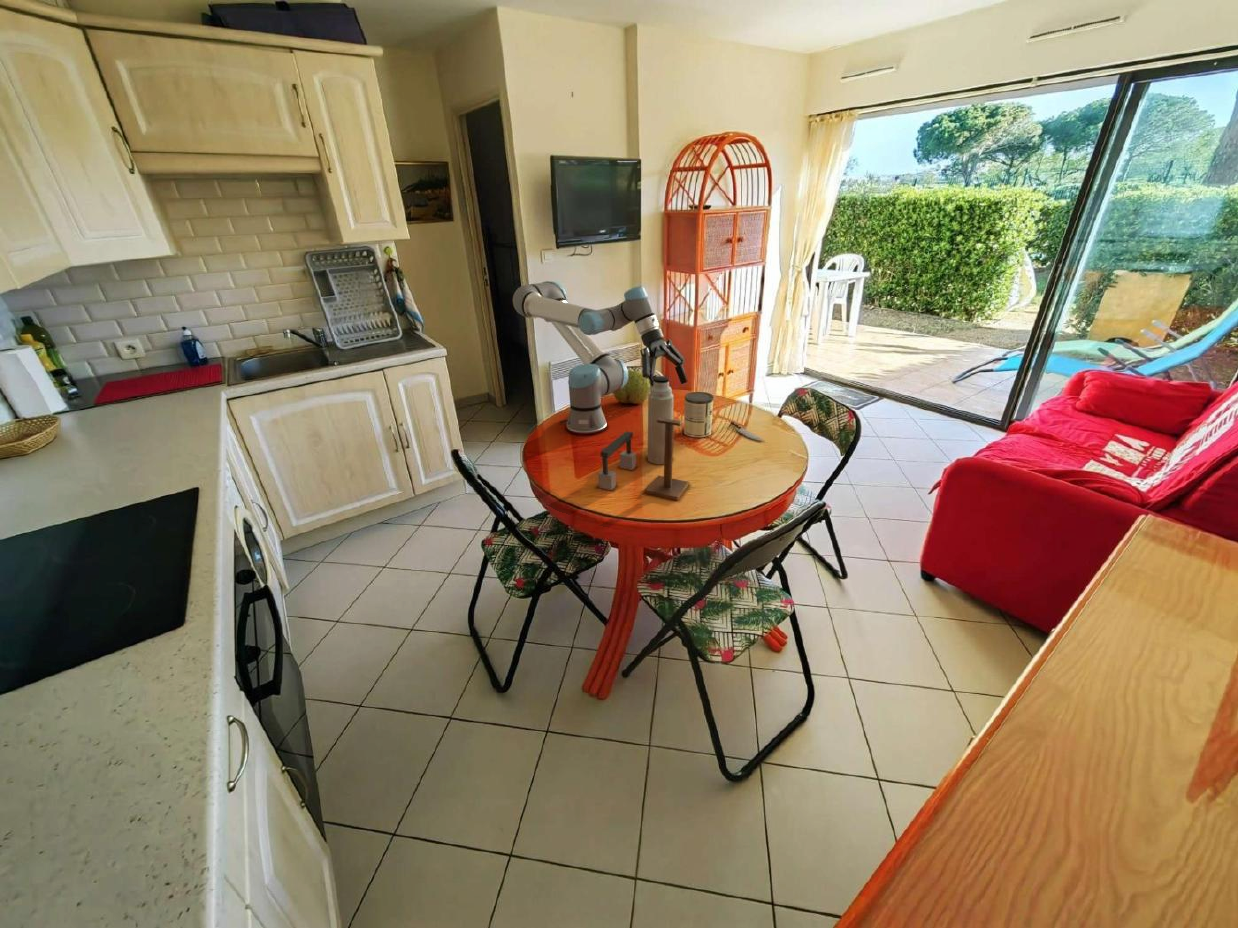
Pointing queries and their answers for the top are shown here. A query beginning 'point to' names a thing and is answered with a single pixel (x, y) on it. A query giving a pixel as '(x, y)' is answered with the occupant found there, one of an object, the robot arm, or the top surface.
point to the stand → (668, 468)
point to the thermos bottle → (658, 408)
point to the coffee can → (698, 414)
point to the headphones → (626, 460)
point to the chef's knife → (746, 432)
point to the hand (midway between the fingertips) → (672, 388)
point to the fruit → (634, 389)
